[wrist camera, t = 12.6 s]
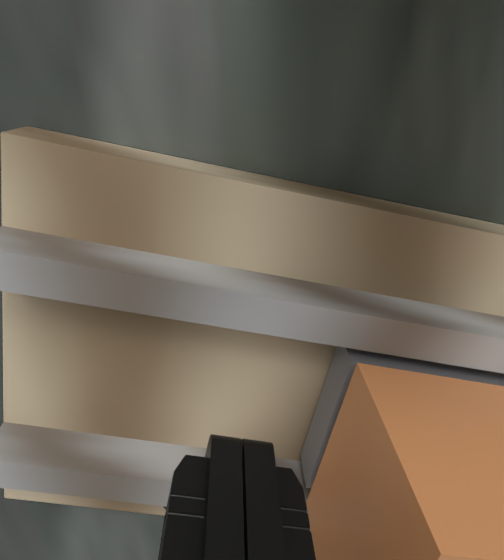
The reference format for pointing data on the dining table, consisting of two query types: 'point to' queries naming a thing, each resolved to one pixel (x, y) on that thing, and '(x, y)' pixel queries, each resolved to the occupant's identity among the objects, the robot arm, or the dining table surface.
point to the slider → (406, 461)
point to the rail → (205, 310)
